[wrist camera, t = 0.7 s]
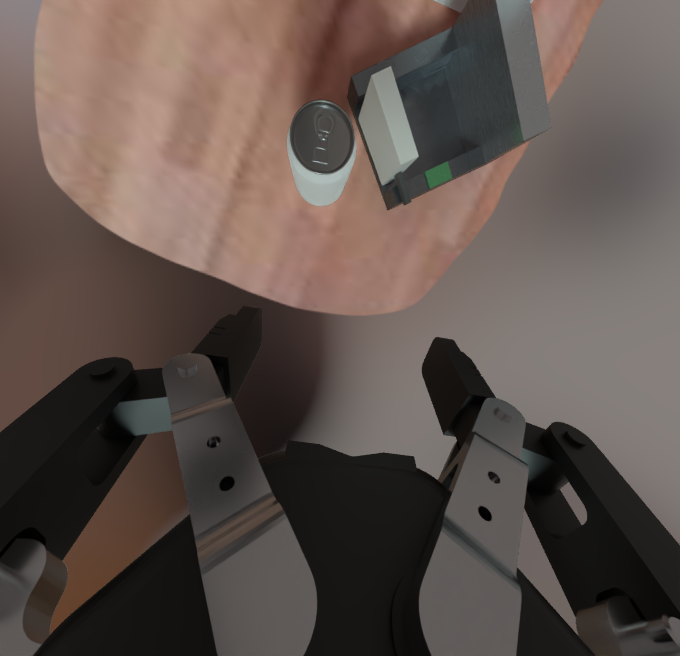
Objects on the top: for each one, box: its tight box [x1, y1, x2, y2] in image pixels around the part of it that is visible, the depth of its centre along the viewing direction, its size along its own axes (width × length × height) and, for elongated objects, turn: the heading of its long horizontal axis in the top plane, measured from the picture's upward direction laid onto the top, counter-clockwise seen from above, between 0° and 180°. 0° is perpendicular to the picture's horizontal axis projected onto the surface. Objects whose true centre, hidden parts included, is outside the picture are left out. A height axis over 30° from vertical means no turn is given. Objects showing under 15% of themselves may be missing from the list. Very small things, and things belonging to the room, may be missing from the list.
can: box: [287, 100, 356, 206], centre depth 28 cm, size 6×6×12 cm
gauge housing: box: [347, 0, 551, 210], centre depth 28 cm, size 14×15×10 cm
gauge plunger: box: [358, 66, 419, 205], centre depth 29 cm, size 12×2×8 cm, turn 24°
